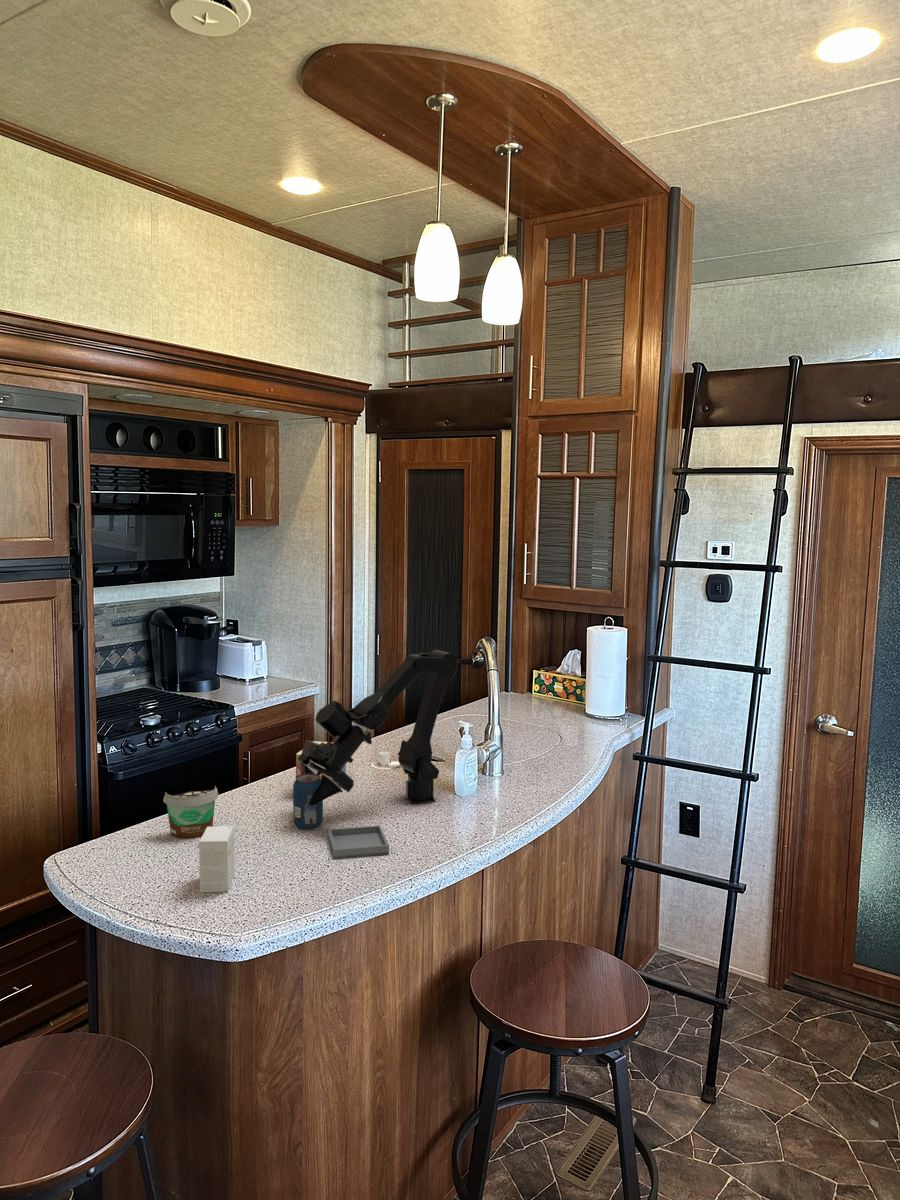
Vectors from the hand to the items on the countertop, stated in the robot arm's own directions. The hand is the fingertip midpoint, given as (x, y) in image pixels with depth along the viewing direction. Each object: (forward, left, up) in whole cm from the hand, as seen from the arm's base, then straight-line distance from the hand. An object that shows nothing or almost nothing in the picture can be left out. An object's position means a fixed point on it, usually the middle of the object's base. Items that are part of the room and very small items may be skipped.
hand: (302, 800), depth 196 cm
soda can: (-1, -1, -7) cm, 7 cm away
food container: (+25, -1, -7) cm, 26 cm away
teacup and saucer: (-26, -41, -7) cm, 49 cm away
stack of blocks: (-7, -28, -7) cm, 30 cm away
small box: (+19, +26, -7) cm, 33 cm away
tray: (-11, +13, -7) cm, 19 cm away
